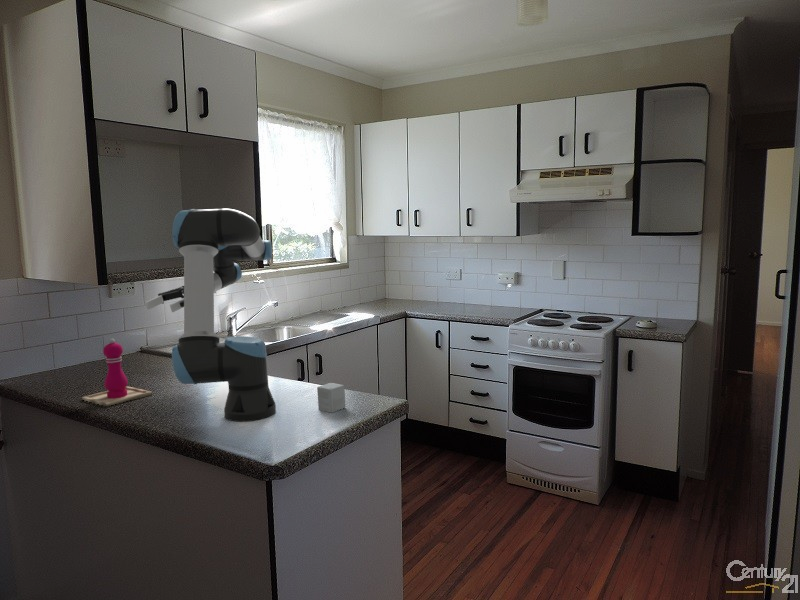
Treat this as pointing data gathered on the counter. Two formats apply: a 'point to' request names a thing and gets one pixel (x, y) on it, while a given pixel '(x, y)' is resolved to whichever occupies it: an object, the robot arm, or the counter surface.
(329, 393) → the product box
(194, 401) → the counter surface
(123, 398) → the oak tray
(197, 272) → the robot arm
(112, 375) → the pepper mill
